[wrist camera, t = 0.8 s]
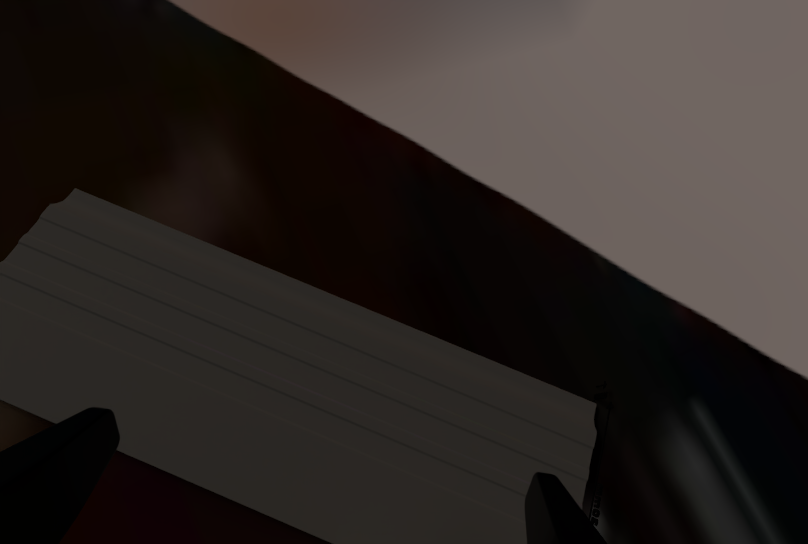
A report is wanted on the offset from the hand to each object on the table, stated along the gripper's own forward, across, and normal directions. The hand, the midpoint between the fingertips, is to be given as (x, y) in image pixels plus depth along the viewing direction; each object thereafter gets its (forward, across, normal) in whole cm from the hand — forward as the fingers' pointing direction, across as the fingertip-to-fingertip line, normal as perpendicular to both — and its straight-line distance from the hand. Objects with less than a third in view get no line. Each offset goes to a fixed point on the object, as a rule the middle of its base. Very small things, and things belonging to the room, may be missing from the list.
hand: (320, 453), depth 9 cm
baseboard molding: (+11, +4, +8) cm, 14 cm away
